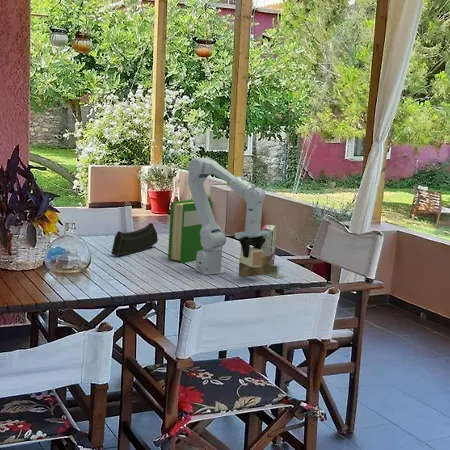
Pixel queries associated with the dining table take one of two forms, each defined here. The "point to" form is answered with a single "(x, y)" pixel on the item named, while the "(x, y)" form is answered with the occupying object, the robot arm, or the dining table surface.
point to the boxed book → (252, 257)
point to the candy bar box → (269, 242)
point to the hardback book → (184, 231)
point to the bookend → (272, 271)
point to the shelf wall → (253, 268)
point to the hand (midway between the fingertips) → (250, 256)
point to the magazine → (134, 241)
